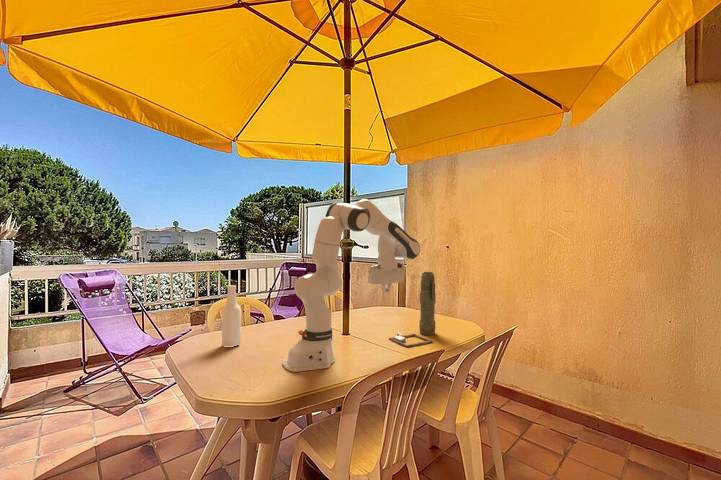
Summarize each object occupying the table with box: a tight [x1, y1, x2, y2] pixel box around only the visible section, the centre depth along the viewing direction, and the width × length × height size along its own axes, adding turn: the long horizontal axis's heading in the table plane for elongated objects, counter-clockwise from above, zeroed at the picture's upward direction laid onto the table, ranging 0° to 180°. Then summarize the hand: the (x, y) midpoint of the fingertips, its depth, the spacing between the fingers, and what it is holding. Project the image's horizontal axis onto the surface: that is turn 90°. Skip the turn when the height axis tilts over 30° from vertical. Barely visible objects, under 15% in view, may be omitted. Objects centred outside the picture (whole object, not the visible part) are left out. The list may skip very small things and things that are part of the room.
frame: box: [388, 333, 433, 349], centre depth 181 cm, size 17×15×1 cm
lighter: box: [394, 332, 407, 343], centre depth 184 cm, size 7×2×8 cm
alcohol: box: [221, 284, 242, 347], centre depth 171 cm, size 9×9×30 cm
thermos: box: [418, 271, 437, 336], centre depth 197 cm, size 9×12×35 cm
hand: (386, 292), depth 173 cm, fingers closed
